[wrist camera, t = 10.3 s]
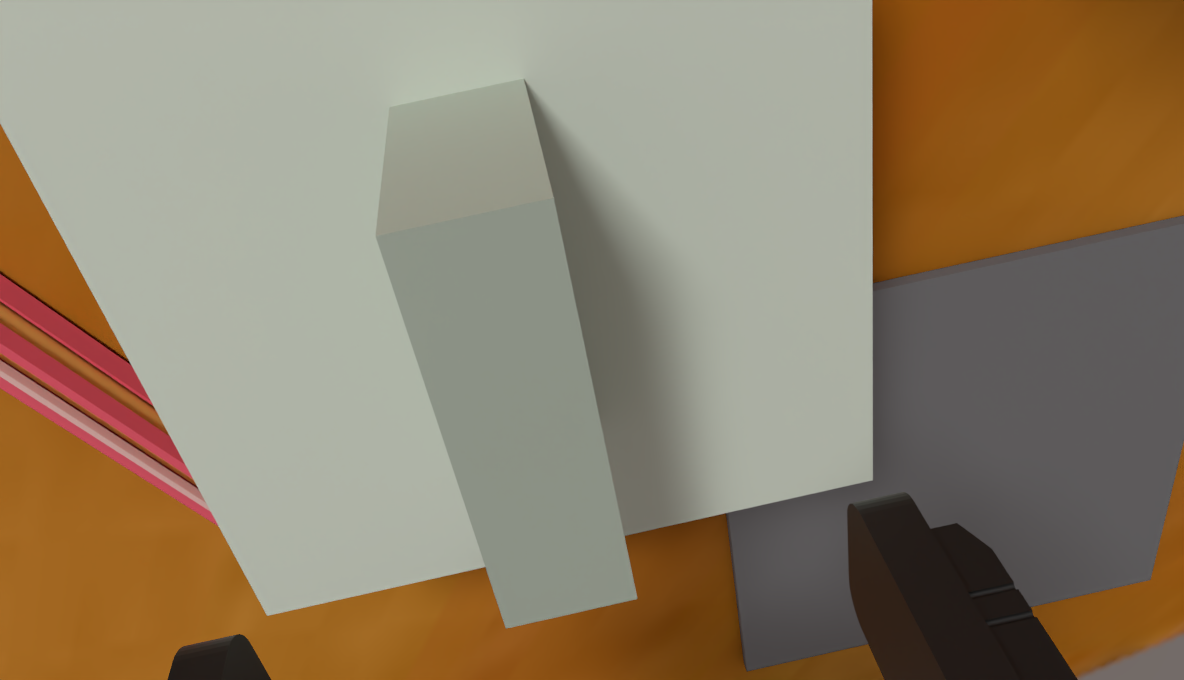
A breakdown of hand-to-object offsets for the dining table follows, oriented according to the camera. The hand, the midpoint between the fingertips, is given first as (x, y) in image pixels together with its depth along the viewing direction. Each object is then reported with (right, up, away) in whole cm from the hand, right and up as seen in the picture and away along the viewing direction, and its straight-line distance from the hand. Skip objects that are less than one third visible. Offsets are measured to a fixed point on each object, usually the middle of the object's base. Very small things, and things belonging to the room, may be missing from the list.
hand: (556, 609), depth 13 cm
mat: (+13, -1, +20) cm, 24 cm away
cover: (-1, +5, +7) cm, 9 cm away
